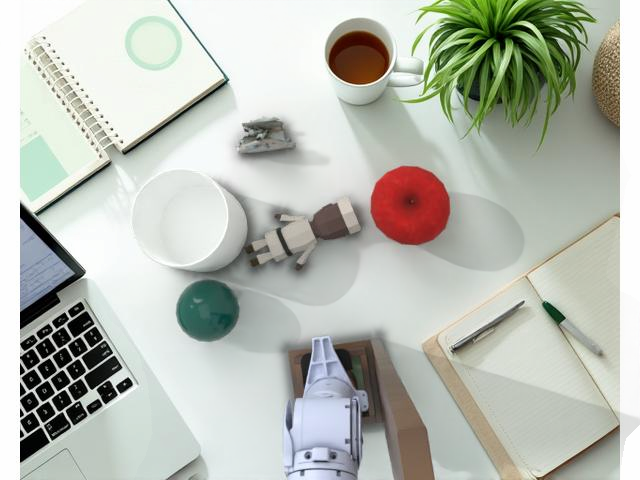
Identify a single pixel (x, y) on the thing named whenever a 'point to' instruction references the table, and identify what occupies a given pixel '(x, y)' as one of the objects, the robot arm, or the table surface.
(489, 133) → the table surface
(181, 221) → the cup
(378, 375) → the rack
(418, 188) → the apple
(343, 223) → the toy
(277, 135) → the grey irregular chunk
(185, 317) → the sphere
